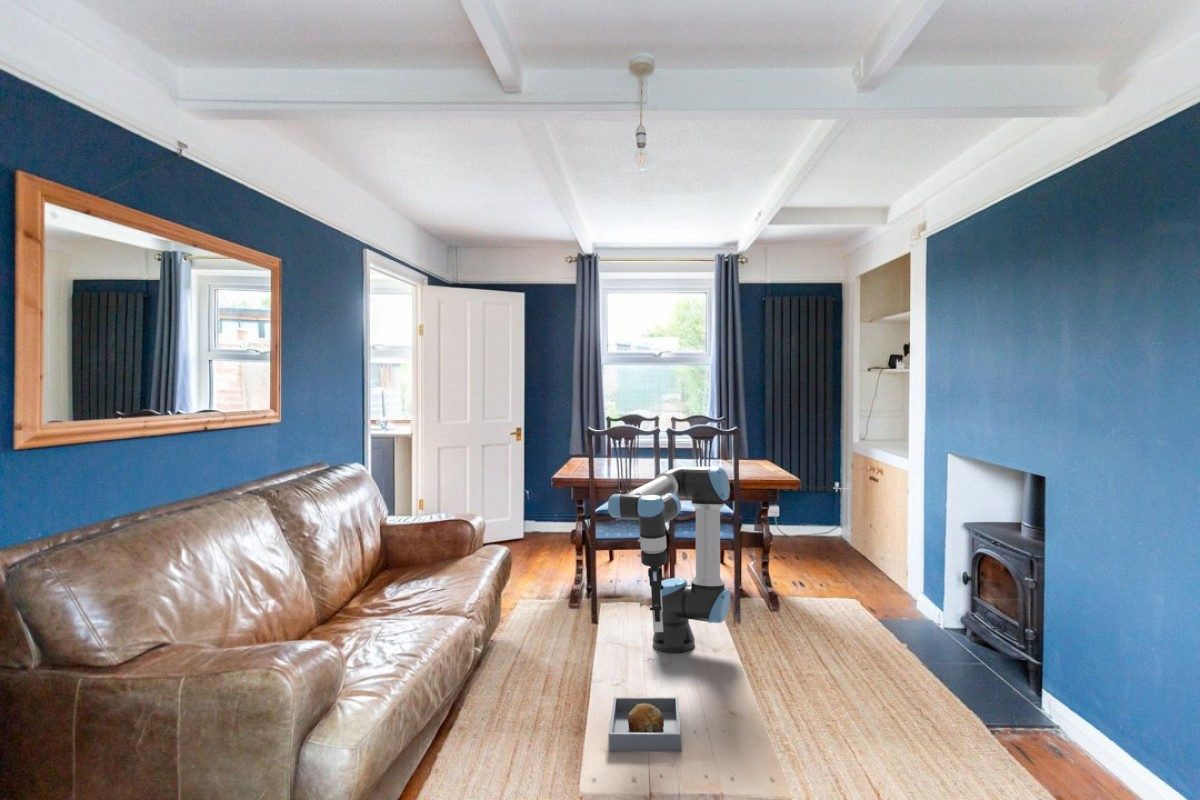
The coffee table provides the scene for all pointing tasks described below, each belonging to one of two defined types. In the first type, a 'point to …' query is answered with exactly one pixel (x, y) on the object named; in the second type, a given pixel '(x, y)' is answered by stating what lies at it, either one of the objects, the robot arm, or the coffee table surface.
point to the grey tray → (639, 740)
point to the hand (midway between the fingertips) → (658, 621)
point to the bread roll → (645, 719)
